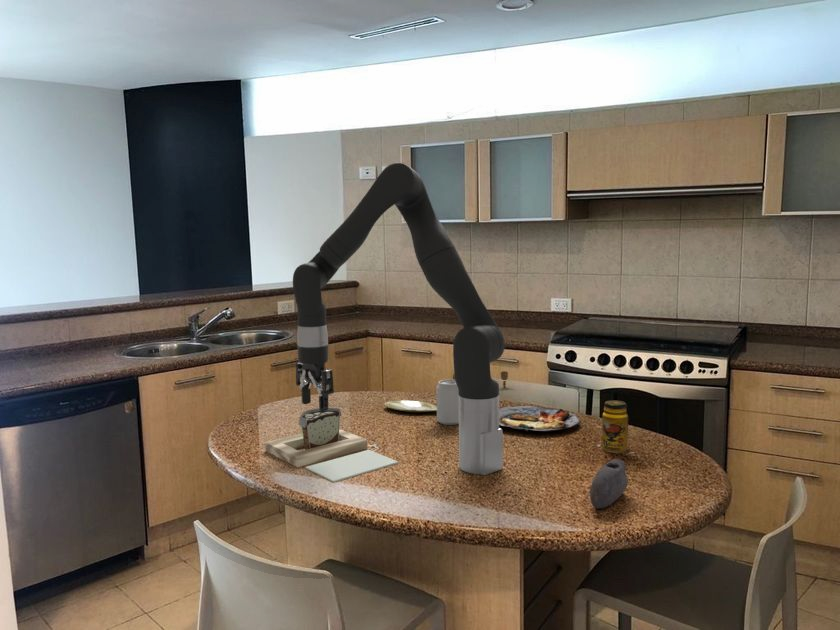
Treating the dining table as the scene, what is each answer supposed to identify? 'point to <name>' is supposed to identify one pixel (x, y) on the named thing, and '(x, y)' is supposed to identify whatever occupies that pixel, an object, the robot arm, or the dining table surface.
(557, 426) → the food plate
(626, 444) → the condiment
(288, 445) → the frame
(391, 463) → the mat
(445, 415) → the can
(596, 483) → the perforated stone tool
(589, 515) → the dining table surface
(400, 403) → the oval serving platter
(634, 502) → the dining table surface
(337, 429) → the patterned half cylinder
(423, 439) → the dining table surface
